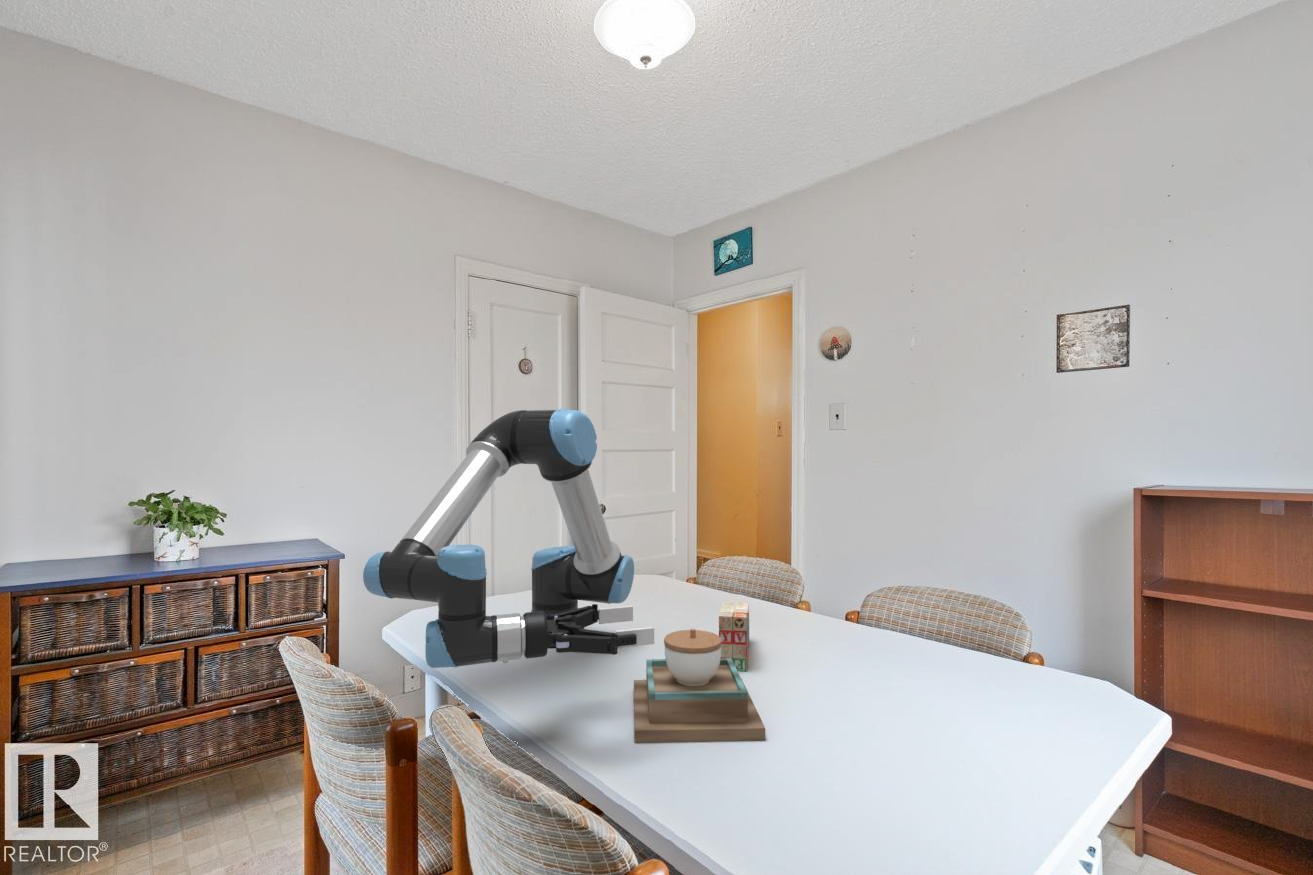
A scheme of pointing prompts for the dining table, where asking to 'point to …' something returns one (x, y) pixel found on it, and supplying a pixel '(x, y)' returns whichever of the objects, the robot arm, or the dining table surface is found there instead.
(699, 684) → the lidded jar
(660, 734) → the base
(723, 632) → the stack of blocks
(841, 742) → the dining table surface
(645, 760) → the dining table surface
